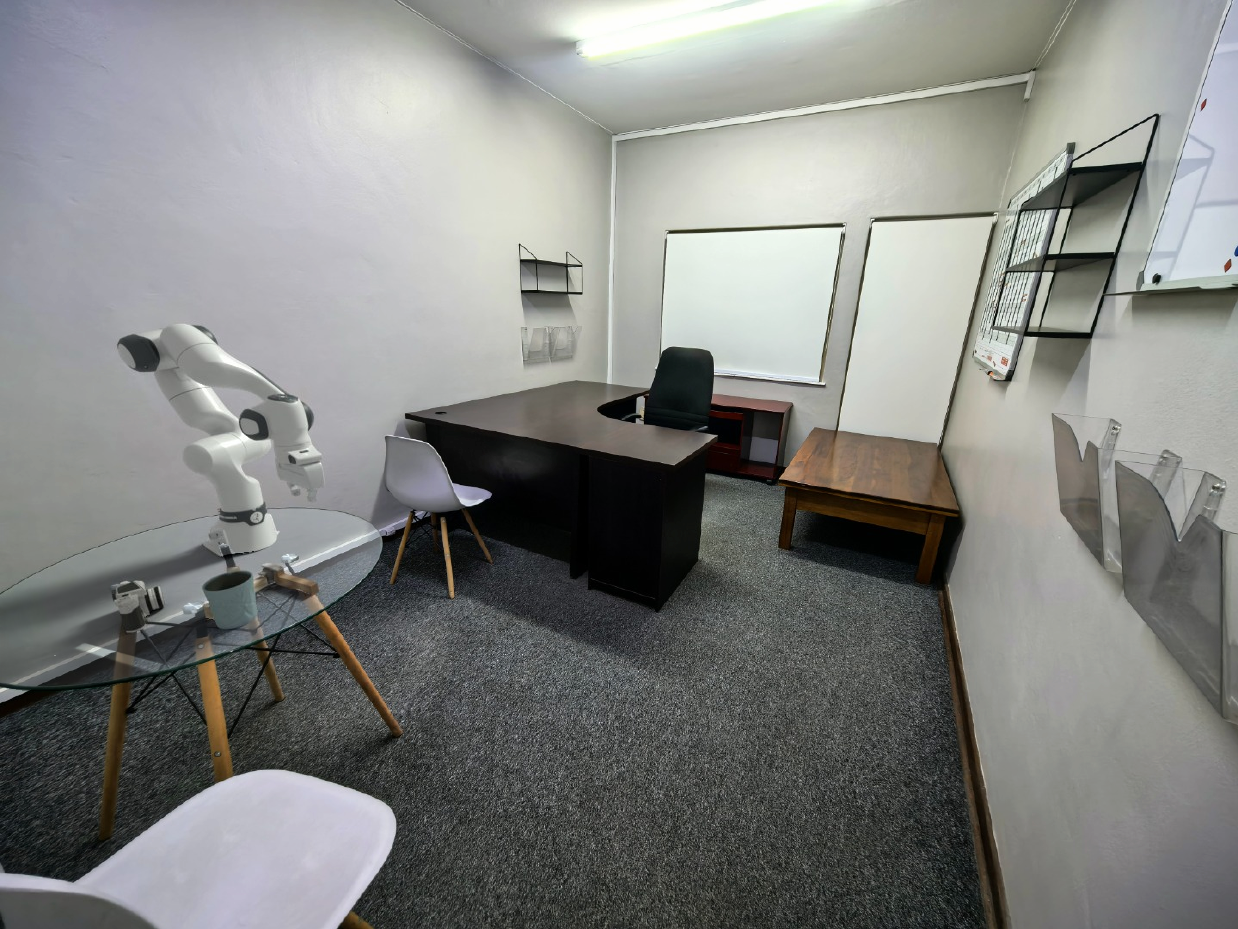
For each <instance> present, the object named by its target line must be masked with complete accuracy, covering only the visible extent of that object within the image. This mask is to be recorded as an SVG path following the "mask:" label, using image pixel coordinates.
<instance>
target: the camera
mask: <svg viewBox="0 0 1238 929" xmlns="http://www.w3.org/2000/svg"><path fill="white" fill-rule="evenodd" d="M111 597H112V600H113V603H114V604H115V606H116V607H117V608H118V611H119V615H120V617H121V619H122V623H123V626H124V630H125V632H126V633H127V634H128V633H136V632H138V631H142V630H143V629H144V628H145V627H147V625H146V620H145V618H147V617H148V616H147V615H150V612H151V611H154V610H156V609H162V608H164V607H166V602H165V598H164V595H163V591H162V588H161V586H159V585H158V586H154V587H152V588H148V589H147V588H146V585H145V582H144V581H143V580H133V581H127V580H125V581H122V582H120V583H119V585H118V586H116V587H115V588H114V589H111ZM146 616H147V617H146ZM150 616H151V615H150Z"/></svg>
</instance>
